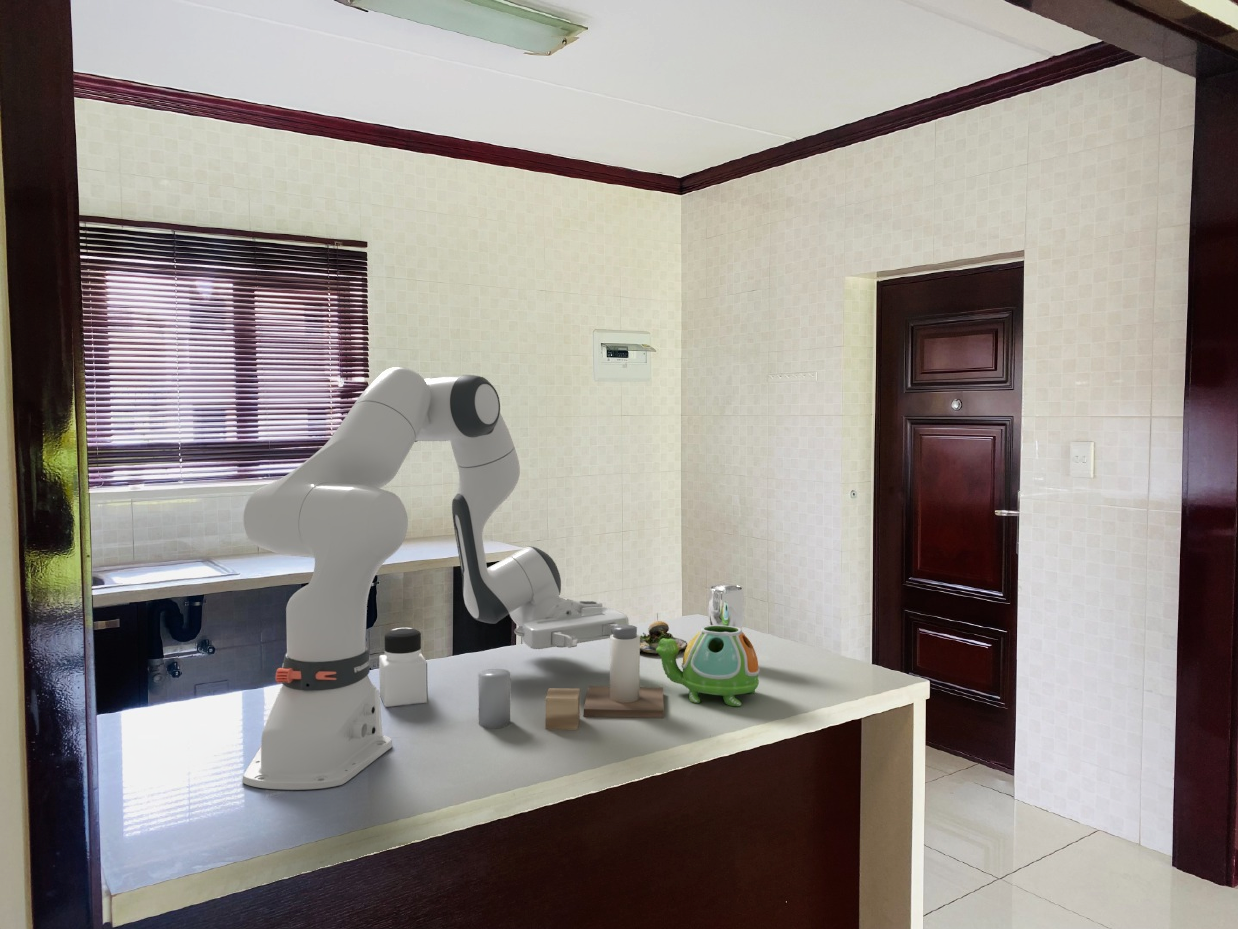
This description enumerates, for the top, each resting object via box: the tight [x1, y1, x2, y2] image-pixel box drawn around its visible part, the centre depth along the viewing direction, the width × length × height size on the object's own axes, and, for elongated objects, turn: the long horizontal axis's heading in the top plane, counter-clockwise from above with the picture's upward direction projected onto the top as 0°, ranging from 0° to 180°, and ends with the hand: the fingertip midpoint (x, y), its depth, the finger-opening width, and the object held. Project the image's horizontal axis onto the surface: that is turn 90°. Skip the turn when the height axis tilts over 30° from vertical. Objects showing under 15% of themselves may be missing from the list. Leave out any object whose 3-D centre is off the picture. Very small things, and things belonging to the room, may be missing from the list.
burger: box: [639, 613, 688, 654], centre depth 187 cm, size 12×12×8 cm
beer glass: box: [707, 583, 745, 633], centre depth 178 cm, size 7×7×15 cm
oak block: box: [545, 687, 581, 731], centre depth 144 cm, size 5×5×5 cm
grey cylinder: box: [477, 668, 511, 729], centre depth 144 cm, size 5×5×8 cm
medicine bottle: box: [378, 627, 429, 708], centre depth 155 cm, size 7×7×12 cm
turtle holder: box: [656, 624, 761, 707], centre depth 158 cm, size 12×18×12 cm
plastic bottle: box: [609, 624, 641, 703], centre depth 152 cm, size 5×5×12 cm
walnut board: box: [582, 685, 665, 719], centre depth 153 cm, size 12×13×1 cm
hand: (597, 639), depth 160 cm, fingers open, 8 cm apart
